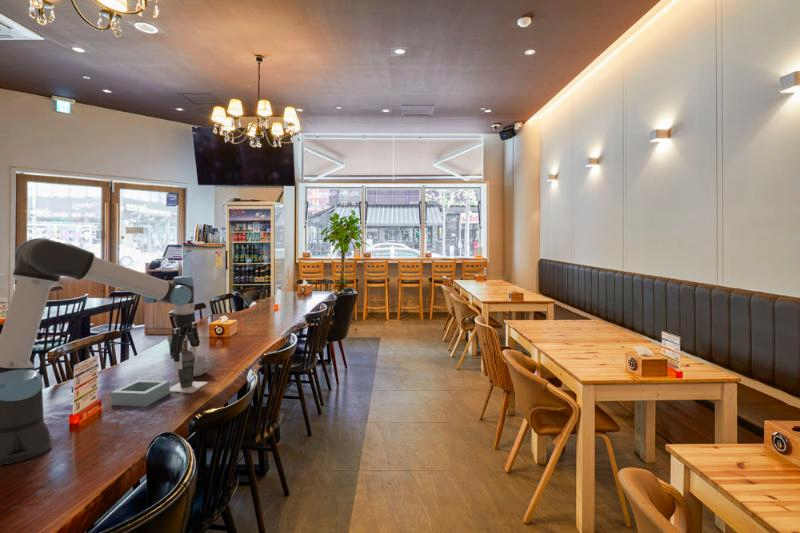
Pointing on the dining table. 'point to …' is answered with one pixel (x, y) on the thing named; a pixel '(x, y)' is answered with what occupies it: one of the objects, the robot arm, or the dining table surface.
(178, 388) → the grey mat
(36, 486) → the dining table surface
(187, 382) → the beverage cup
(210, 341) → the dining table surface
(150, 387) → the grey square tray
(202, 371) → the teacup
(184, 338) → the food container
